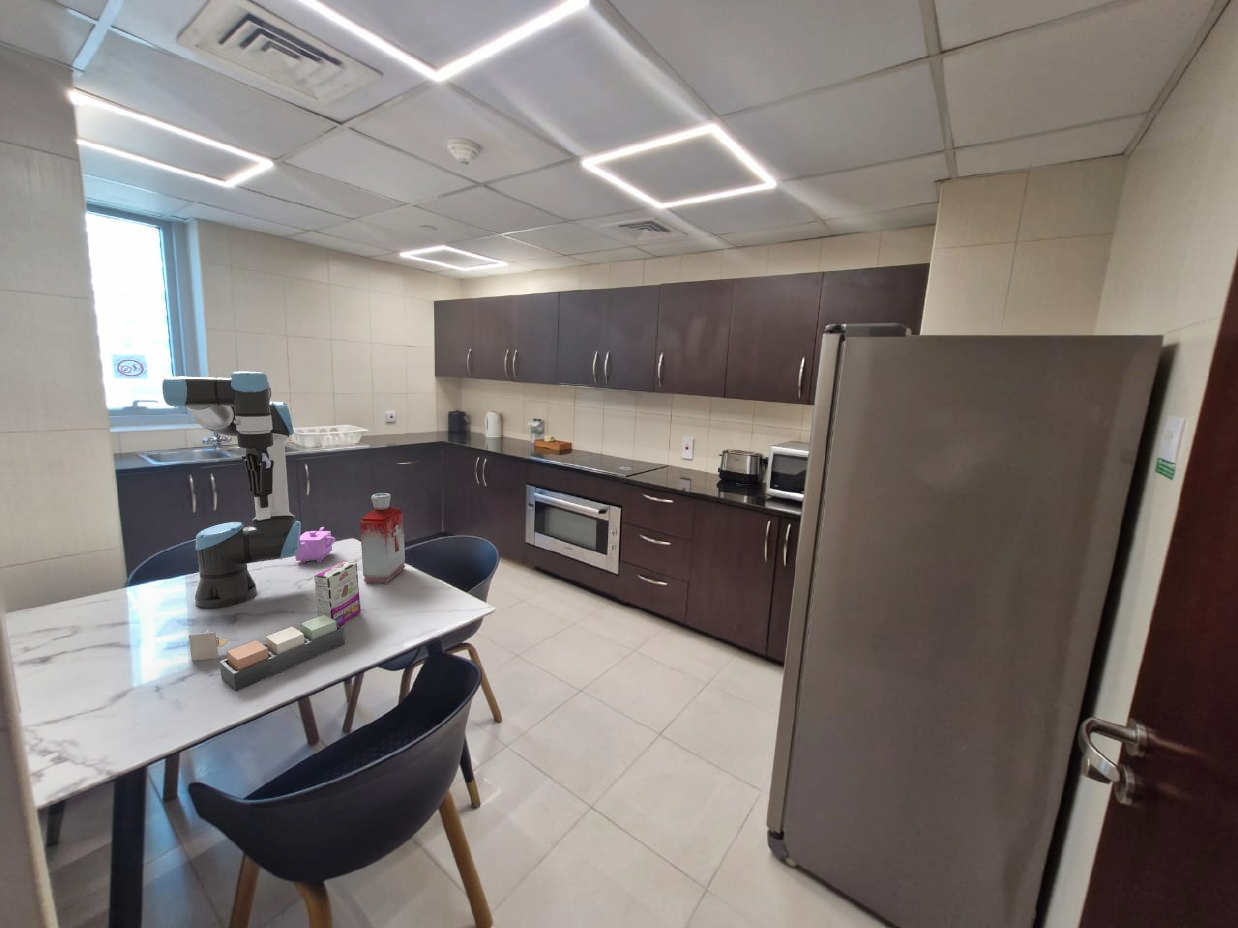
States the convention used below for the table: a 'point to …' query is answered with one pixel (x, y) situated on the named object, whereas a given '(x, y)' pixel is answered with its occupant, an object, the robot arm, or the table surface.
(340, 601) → the candy bar box
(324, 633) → the sage key
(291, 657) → the grey compartment tray
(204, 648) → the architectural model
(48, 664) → the table surface
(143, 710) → the table surface
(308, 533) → the teapot
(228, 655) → the terracotta key
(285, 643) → the ivory key
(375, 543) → the bottle
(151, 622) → the table surface
